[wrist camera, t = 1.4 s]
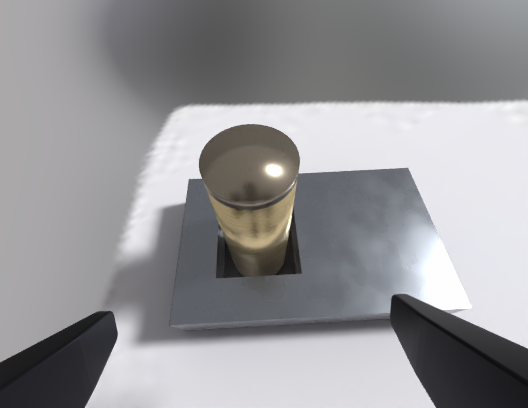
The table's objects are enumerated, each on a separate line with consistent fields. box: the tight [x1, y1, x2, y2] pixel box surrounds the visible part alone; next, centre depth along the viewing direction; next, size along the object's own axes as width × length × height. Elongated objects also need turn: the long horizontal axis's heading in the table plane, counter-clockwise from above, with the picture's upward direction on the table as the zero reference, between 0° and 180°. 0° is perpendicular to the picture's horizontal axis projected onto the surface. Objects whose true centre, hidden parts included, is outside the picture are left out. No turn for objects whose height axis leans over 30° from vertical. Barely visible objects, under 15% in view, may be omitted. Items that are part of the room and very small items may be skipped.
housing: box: [169, 168, 472, 331], centre depth 21 cm, size 12×20×4 cm, turn 93°
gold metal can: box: [199, 124, 300, 277], centre depth 17 cm, size 5×5×12 cm
